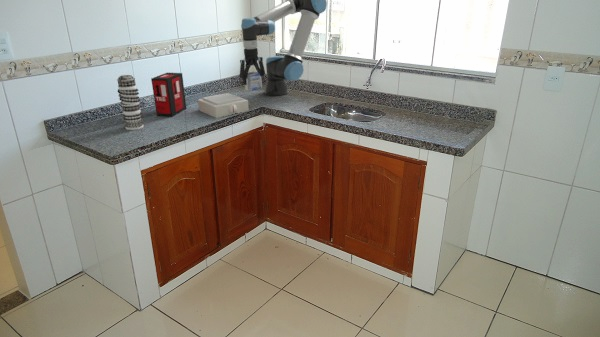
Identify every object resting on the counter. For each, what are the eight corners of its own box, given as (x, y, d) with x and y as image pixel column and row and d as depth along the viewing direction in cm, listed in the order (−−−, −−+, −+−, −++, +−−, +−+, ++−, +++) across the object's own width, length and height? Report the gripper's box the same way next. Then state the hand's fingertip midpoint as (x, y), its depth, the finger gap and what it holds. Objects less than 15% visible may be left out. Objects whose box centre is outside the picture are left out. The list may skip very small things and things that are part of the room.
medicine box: (251, 91, 227) (250, 75, 224) (246, 90, 230) (244, 75, 226) (261, 88, 233) (260, 73, 229) (255, 87, 235) (254, 72, 232)
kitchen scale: (230, 104, 236) (229, 91, 233) (249, 111, 221) (248, 98, 218) (198, 110, 224) (197, 97, 221) (217, 118, 210) (216, 105, 207)
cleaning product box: (172, 107, 229) (167, 72, 221) (186, 108, 228) (182, 73, 219) (157, 116, 214) (151, 78, 206) (172, 117, 213) (167, 79, 205)
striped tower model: (123, 131, 192) (113, 78, 182) (125, 125, 200) (115, 74, 190) (143, 129, 194) (134, 77, 184) (145, 123, 202) (136, 73, 192)
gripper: (237, 51, 213) (241, 93, 223) (270, 46, 225) (272, 86, 235) (230, 49, 218) (234, 90, 228) (262, 45, 230) (265, 84, 240)
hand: (253, 88), depth 231 cm, fingers closed on medicine box, 8 cm apart
